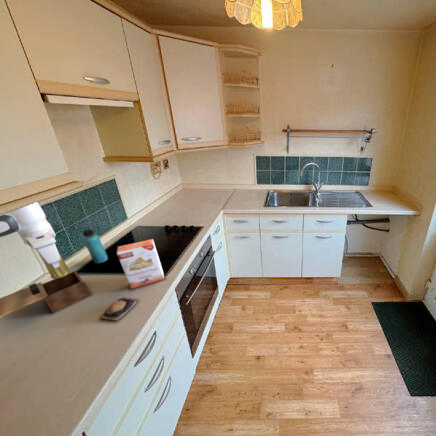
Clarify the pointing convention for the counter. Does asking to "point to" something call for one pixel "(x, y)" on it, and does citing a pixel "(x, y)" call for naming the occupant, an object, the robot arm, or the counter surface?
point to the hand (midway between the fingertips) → (54, 263)
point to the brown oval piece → (118, 309)
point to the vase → (57, 269)
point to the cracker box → (140, 263)
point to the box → (65, 291)
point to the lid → (22, 298)
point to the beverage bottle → (95, 247)
